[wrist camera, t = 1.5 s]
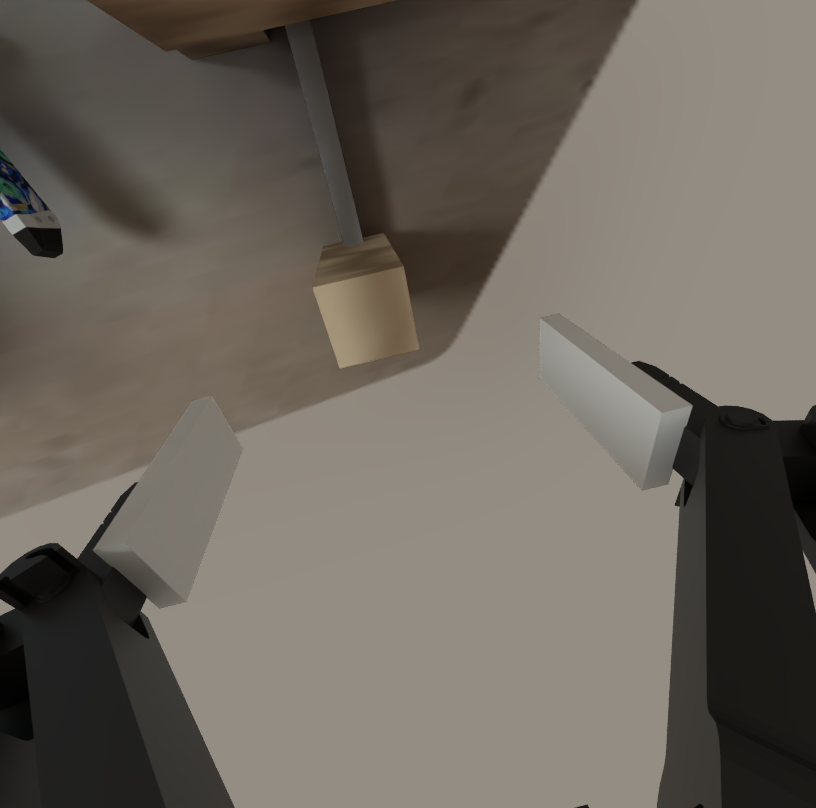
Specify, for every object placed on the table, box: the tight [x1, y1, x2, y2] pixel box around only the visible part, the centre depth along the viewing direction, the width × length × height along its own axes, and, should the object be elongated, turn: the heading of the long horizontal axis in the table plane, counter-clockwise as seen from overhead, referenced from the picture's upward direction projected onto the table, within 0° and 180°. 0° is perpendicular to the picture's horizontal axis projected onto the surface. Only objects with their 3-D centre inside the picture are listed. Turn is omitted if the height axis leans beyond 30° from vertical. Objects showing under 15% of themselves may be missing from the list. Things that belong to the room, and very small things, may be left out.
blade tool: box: [285, 20, 419, 368], centre depth 21 cm, size 5×21×12 cm, turn 11°
